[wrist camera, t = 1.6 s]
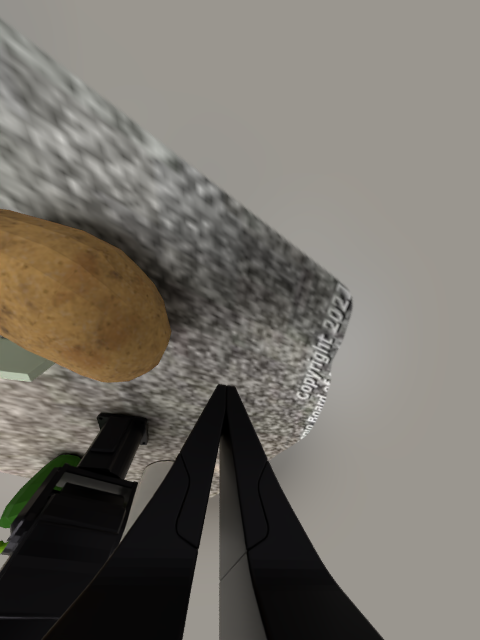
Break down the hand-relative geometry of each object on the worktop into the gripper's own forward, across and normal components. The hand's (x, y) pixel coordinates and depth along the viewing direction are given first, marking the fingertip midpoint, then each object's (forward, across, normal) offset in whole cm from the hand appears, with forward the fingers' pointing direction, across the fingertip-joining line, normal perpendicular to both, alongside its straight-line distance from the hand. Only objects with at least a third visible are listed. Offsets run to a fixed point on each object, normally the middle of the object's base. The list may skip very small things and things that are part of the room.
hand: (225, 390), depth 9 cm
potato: (+10, +11, 0) cm, 15 cm away
